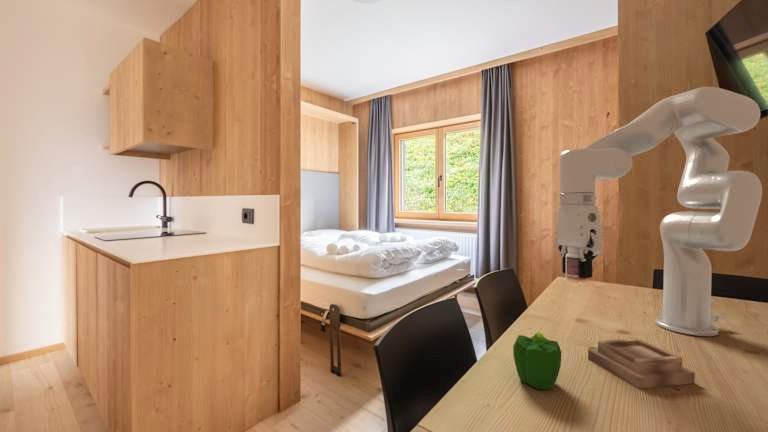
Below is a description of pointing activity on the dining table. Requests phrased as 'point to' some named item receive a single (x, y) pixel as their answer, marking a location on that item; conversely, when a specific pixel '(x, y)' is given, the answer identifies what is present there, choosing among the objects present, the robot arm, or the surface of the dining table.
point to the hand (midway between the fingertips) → (576, 274)
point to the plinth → (641, 363)
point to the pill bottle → (573, 265)
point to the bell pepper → (537, 360)
